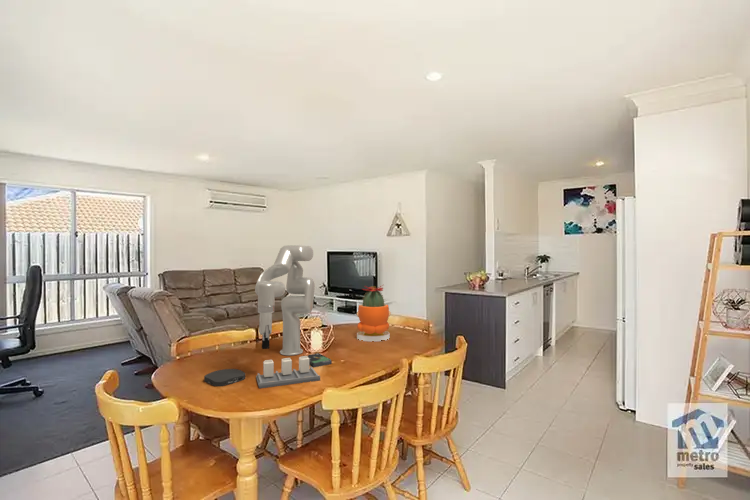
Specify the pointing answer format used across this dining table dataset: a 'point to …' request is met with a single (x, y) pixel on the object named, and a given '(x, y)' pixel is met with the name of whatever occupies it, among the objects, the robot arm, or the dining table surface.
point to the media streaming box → (224, 377)
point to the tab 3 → (303, 364)
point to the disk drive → (318, 360)
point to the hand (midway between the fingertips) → (265, 348)
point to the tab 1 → (268, 368)
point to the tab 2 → (286, 366)
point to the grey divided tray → (287, 378)
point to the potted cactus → (373, 316)
